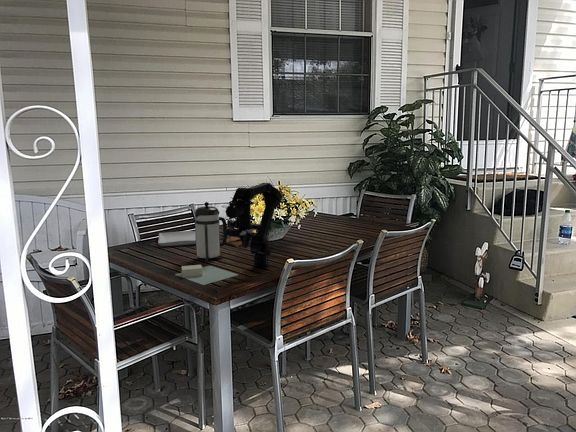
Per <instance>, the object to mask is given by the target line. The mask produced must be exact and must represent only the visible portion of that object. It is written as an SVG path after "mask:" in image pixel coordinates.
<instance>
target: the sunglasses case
mask: <svg viewBox="0 0 576 432" xmlns="http://www.w3.org/2000/svg"><path fill="white" fill-rule="evenodd" d="M225 245H228V246H231V247H235V248H236V249H239V248H244V247H243V245H242V242H241V240H240V238H239V237H238V236H235V237H232V236H227V241H226V243H225ZM247 247H250V243H249V244H248V246H247Z"/></svg>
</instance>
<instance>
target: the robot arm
mask: <svg viewBox="0 0 576 432" xmlns="http://www.w3.org/2000/svg"><path fill="white" fill-rule="evenodd" d="M260 194H261V195H262V197H263V202H264V205H265V206H264V209H263V213H262V215H261V220H260V223H252V221H251V220H253V218H254V217H252V216H251V211H252V210H251V205H253V204H254V202H253V201H252V200H253V199H255V196H258V195H260ZM282 199H283V194H282V193H281V191H280V190H279V189H278V188H276V187H275V186H273V183H270V182H261V183H259V184H256V185H252V186H248V187H237V188H236V190H235V192H234V193H233V197H232V199H231V202H229V204H228V206H227V207H226V209H225V215H226V217H228V218H229V219H228V220H227V221H226V225H227V227H228V228H227V229H226V231H225V234H226V235H227V237H230V236H232V237H238V238H240V240H241V242H242V245H243V247H242V248H243V249H247V248H248V247H249V249H250V252H251V254H252V255H254V258H253V264H252V266H253V267H256V268H259V269H264V268H267V267H271V264H270V263H269V256H270V255H271V254H272V248H271V247H270V246H269V243H270V241H269V238H268V234H269V231H270V227H271V224H272V220H273V217H274V213H275V210H276V209H277V208H278V207H279V206H280V205H281V201H282ZM234 218H235V220H233V219H234ZM253 231H257V233H255V232H253ZM248 244H249V246H248Z"/></svg>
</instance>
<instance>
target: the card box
mask: <svg viewBox="0 0 576 432" xmlns="http://www.w3.org/2000/svg"><path fill="white" fill-rule="evenodd" d="M202 267H203V266H202V264H195V265H194V264H193V265H182V266H181V273H182V276H183V277H192V276H203V268H202Z"/></svg>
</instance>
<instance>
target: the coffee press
mask: <svg viewBox="0 0 576 432" xmlns="http://www.w3.org/2000/svg"><path fill="white" fill-rule="evenodd" d="M193 214H194V231H195V235H196V244H195V255H194V259H195V260H197V259H198V258H200V259H205V263H208V262H209V260H210V259H215V258H219V259H223V258H224V256H223V255H222V252H221V247H223V246H225V245H226V244H225V243H226V241H227V238H228V235H226V234H225V231H226V229H228V228H227V227H228V225H227V221H226V219H225V218H224V217H222V216H219V215H220V210H219V209H218V208H217V207H215V206H210V204H209V202H208V201H205V202H204V206H200V207H197V208H196V209H195V210H194V213H193ZM220 221H221V222H222V233H223V235H222V236H223V237H222V242H221V229H220V227H221V226H220ZM196 255H197V257H196Z"/></svg>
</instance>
